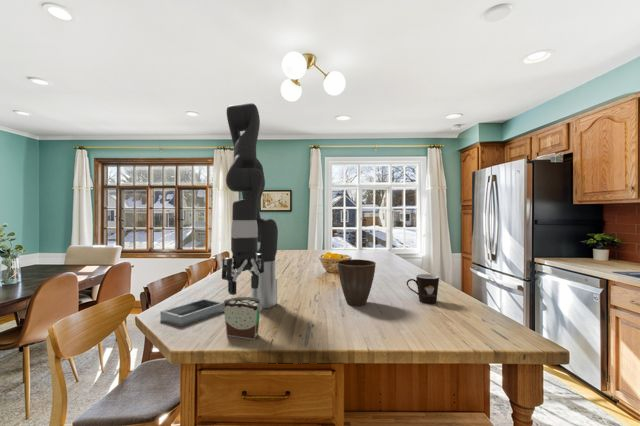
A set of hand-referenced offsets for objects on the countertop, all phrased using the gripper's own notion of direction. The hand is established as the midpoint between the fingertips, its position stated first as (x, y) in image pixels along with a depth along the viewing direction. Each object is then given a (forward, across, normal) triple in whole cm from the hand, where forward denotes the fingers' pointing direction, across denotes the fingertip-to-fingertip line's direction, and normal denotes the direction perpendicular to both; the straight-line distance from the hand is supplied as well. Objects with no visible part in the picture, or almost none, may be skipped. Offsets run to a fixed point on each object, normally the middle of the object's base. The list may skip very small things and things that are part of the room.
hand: (244, 291), depth 86 cm
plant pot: (+12, -44, +16) cm, 48 cm away
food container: (+13, -1, 0) cm, 13 cm away
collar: (+12, -2, -27) cm, 29 cm away
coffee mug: (+11, -60, +37) cm, 72 cm away
